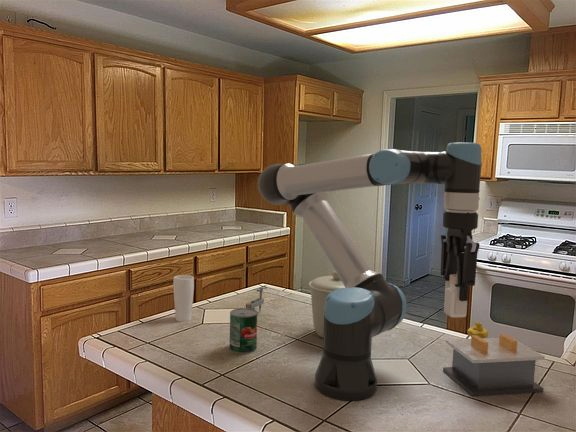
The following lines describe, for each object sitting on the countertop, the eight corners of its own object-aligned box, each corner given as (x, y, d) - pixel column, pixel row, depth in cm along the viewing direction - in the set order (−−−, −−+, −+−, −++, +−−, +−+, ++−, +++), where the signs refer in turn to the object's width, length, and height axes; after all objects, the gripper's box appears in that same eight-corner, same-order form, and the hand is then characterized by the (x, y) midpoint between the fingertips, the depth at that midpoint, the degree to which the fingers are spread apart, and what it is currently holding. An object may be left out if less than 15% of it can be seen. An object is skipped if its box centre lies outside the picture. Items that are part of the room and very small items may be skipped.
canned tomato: (234, 342, 143) (235, 306, 142) (259, 345, 141) (260, 309, 140) (225, 352, 135) (226, 315, 134) (252, 355, 134) (253, 317, 132)
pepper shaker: (467, 318, 109) (469, 277, 108) (450, 318, 109) (453, 277, 108) (458, 312, 113) (460, 273, 112) (442, 313, 113) (444, 273, 112)
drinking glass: (184, 315, 166) (184, 273, 164) (197, 320, 162) (198, 276, 161) (169, 320, 161) (169, 277, 159) (182, 325, 157) (182, 280, 155)
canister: (358, 349, 140) (361, 279, 138) (299, 340, 146) (301, 273, 143) (368, 330, 157) (371, 267, 155) (315, 322, 163) (317, 262, 160)
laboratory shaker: (472, 396, 113) (475, 350, 112) (442, 371, 127) (445, 330, 125) (543, 391, 116) (547, 347, 115) (507, 367, 130) (510, 327, 129)
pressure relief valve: (470, 351, 141) (472, 318, 140) (513, 363, 133) (516, 328, 132) (463, 357, 137) (466, 323, 135) (508, 369, 129) (511, 333, 128)
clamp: (250, 322, 160) (251, 292, 160) (244, 321, 161) (245, 291, 161) (267, 312, 175) (268, 285, 174) (261, 312, 175) (263, 285, 175)
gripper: (497, 214, 101) (490, 322, 103) (457, 207, 118) (452, 300, 120) (464, 214, 100) (458, 323, 102) (428, 207, 116) (424, 300, 119)
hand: (455, 310), depth 111 cm, fingers closed on pepper shaker, 4 cm apart
